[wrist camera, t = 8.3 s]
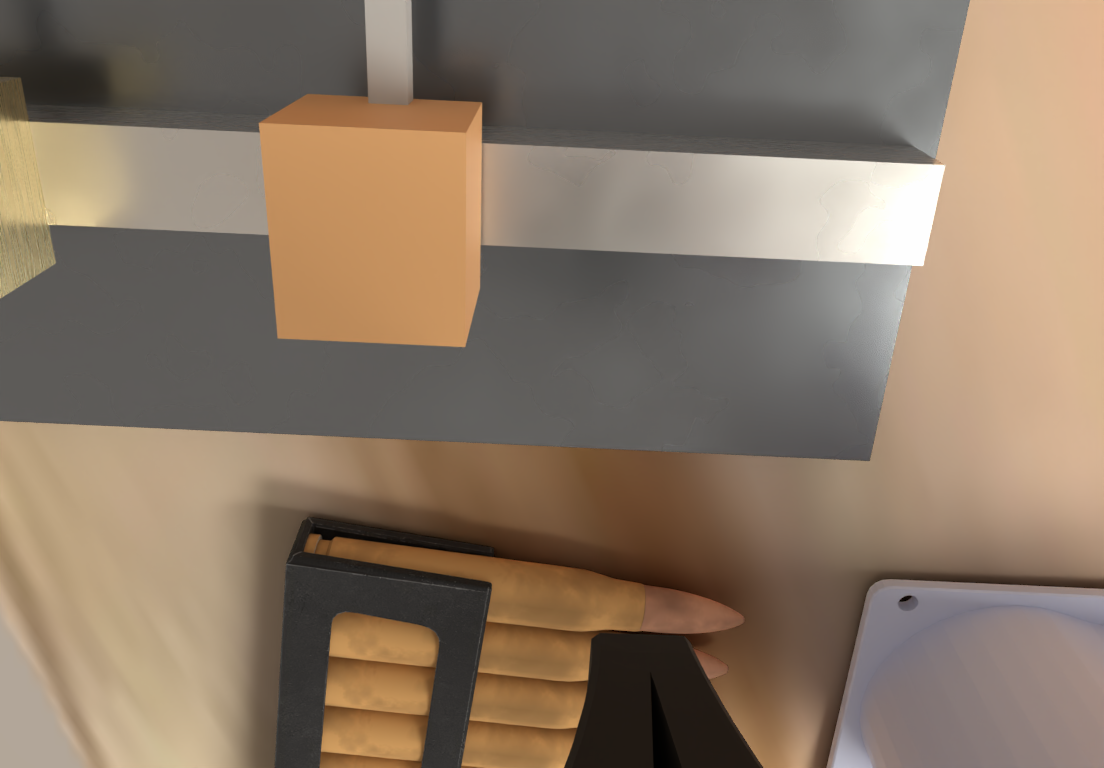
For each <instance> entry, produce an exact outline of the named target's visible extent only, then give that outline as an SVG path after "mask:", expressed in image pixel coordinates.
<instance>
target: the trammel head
mask: <svg viewBox="0 0 1104 768" xmlns="http://www.w3.org/2000/svg"><path fill="white" fill-rule="evenodd" d="M365 26H366V52H367V78H368V97H362V96H341V95H320V94H307V95H305V96H303V97H301V98H300V99H298V100H296V101H295V102H293V103H291V104H290V105H288V106H286V107H285V108H283V109H281V110H280V111H278V112H276V113H275V114H273V115H271V116H270V117H268V118H266V119H265V120H263V121H261V122H260V123H259V131H260V142H261V154H262V165H263V176H264V188H265V199H266V210H267V222H268V233H269V245H270V256H271V267H272V279H273V290H274V301H275V313H276V324H277V336H278V338H279V339H300V340H322V341H343V342H365V343H386V344H408V345H429V346H451V347H465V346H466V342H467V338H468V334H469V330H470V326H471V322H472V318H473V314H474V310H475V306H476V302H477V298H478V294H479V290H480V248H481V163H482V102H467V101H446V100H425V99H413V62H412V9H411V0H365Z"/></svg>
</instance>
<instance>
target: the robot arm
mask: <svg viewBox="0 0 1104 768" xmlns="http://www.w3.org/2000/svg"><path fill="white" fill-rule="evenodd" d="M908 595H911V596H912V597H911V599H909V600H907V601H904V602H900V599H901V598H903V597H904V596H908ZM564 768H763V766H762V765H761V764H760V762H759V761H758V759H757V758H756V756H755V755H754V753H753V751H752V750H751V748H750V747H749V745H748V744H747V742H746V741H745V739H744V738H743V736H742V734H741V733H740V731H739V730H738V728H737V727H736V725H735V724H734V722H733V720H732V719H731V717H730V715H729V714H728V712H727V710H726V709H725V707H724V705H723V703H722V702H721V700H720V698H719V696H718V695H717V693H716V691H715V689H714V688H713V686H712V684H711V682H710V680H709V679H708V677H707V675H706V673H705V671H704V669H703V667H702V665H701V663H700V661H699V659H698V657H697V655H696V653H695V651H694V649H693V647H692V645H691V643H690V641H689V640H688V639H687V638H686V637H685V636H678V635H648V634H618V633H599V634H597V635H596V636H595V637H593V638H592V639H591V648H590V661H589V673H588V686H587V693H586V697H585V702H584V706H583V709H582V713H581V716H580V720H579V723H578V727H577V730H576V734H575V737H574V741H573V744H572V747H571V750H570V753H569V756H568V758H567V761H566V764H565V766H564ZM826 768H1104V589H1095V588H1073V587H1051V586H1029V585H1007V584H985V583H963V582H941V581H919V580H897V579H886V580H881V581H878V582H876V583H874V584H873V585H872V586H871V587H870V588H869V590H868V592H867V595H866V600H865V604H864V608H863V613H862V617H861V621H860V626H859V630H858V634H857V638H856V643H855V647H854V651H853V656H852V660H851V664H850V669H849V673H848V677H847V681H846V686H845V690H844V694H843V699H842V703H841V707H840V712H839V716H838V720H837V724H836V729H835V733H834V737H833V742H832V746H831V750H830V755H829V759H828V763H827V767H826Z"/></svg>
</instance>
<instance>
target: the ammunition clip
mask: <svg viewBox="0 0 1104 768" xmlns="http://www.w3.org/2000/svg"><path fill="white" fill-rule="evenodd" d="M743 623H744V617H743V615H741V614H740V613H738V612H737V611H735V610H733V609H732V608H730V607H728V606H726V605H723V604H721V603H718V602H716V601H713V600H711V599H708V598H705V597H702V596H698V595H695V594H691V593H687V592H683V591H679V590H674V589H669V588H663V587H656V586H648V585H643V584H642V583H637V582H631V581H625V580H619V579H614V578H611V577H608V576H605V575H602V574H599V573H596V572H593V571H589V570H585V569H579V568H572V567H564V566H556V565H549V564H541V563H533V562H526V561H518V560H511V559H503V558H495V557H494V549H493V548H492V547H488V546H482V545H476V544H469V543H463V542H457V541H451V540H445V539H439V538H433V537H427V536H421V535H415V534H409V533H403V532H397V531H390V530H384V529H378V528H372V527H366V526H360V525H354V524H348V523H342V522H336V521H330V520H324V519H317V518H311V517H308V518H307V519H306V520H304V521H303V522H302V524H301V527H300V529H299V532H298V535H297V537H296V540H295V542H294V545H293V547H292V550H291V553H290V555H289V558H288V560H287V563H286V574H285V592H284V610H283V628H282V646H281V664H280V682H279V700H278V718H277V735H276V753H275V768H564V766H565V764H566V761H567V758H568V756H569V753H570V750H571V747H572V744H573V741H574V737H575V734H576V730H577V727H578V723H579V720H580V716H581V713H582V709H583V706H584V702H585V697H586V693H587V686H588V673H589V661H590V648H591V639H592V638H593V637H595V636H596V635H597V634H599V633H618V634H626V633H620V632H614V631H608V630H623V631H648V632H658V633H675V634H693V633H707V632H714V631H721V630H726V629H730V628H733V627H736V626H739V625H741V624H743ZM694 651H695V653H696V655H697V657H698V659H699V661H700V663H701V665H702V667H703V669H704V671H705V673H706V675H707V677H708V679H712V678H716V677H718V676H721V675H724V674H726V673H727V672H728V669H729V668H728V666H727V665H726V664H725V663H723V662H722V661H720V660H718V659H717V658H715V657H713V656H711V655H709V654H706V653H704V652H701V651H699V650H696V649H694Z"/></svg>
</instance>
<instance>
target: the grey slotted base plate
mask: <svg viewBox="0 0 1104 768" xmlns="http://www.w3.org/2000/svg"><path fill="white" fill-rule="evenodd" d="M969 2H970V0H411V9H412V62H413V99H425V100H446V101H467V102H482V163H481V248H480V290H479V294H478V298H477V302H476V306H475V310H474V314H473V318H472V322H471V326H470V330H469V334H468V338H467V342H466V346H465V347H451V346H429V345H408V344H386V343H365V342H343V341H322V340H300V339H279V338H278V336H277V324H276V313H275V301H274V290H273V279H272V267H271V256H270V245H269V233H268V222H267V210H266V199H265V188H264V176H263V165H262V154H261V142H260V131H259V123H260V122H261V121H263V120H265V119H266V118H268V117H270V116H271V115H273V114H275V113H276V112H278V111H280V110H281V109H283V108H285V107H286V106H288V105H290V104H291V103H293V102H295V101H296V100H298V99H300V98H301V97H303V96H305V95H307V94H320V95H341V96H362V97H368V78H367V52H366V26H365V0H0V421H14V422H36V423H57V424H79V425H101V426H123V427H144V428H166V429H188V430H210V431H231V432H253V433H275V434H296V435H318V436H340V437H362V438H383V439H405V440H427V441H449V442H470V443H492V444H514V445H535V446H557V447H579V448H601V449H622V450H644V451H666V452H688V453H709V454H731V455H753V456H774V457H796V458H818V459H840V460H861V461H870V457H871V452H872V447H873V443H874V438H875V434H876V429H877V425H878V420H879V415H880V411H881V406H882V402H883V397H884V392H885V388H886V383H887V379H888V374H889V369H890V365H891V360H892V356H893V351H894V346H895V342H896V337H897V333H898V328H899V323H900V319H901V314H902V310H903V305H904V300H905V296H906V291H907V287H908V282H909V278H910V273H911V268H912V265H917V266H923V263H924V258H925V254H926V249H927V245H928V241H929V236H930V232H931V227H932V223H933V218H934V214H935V209H936V205H937V200H938V196H939V191H940V187H941V182H942V178H943V173H944V169H945V165H944V164H942V163H941V162H939V161H937V160H936V159H935V158H936V154H937V149H938V144H939V140H940V135H941V131H942V126H943V121H944V117H945V112H946V108H947V103H948V98H949V94H950V89H951V85H952V80H953V75H954V71H955V66H956V62H957V57H958V52H959V48H960V43H961V39H962V34H963V30H964V25H965V20H966V16H967V11H968V7H969Z"/></svg>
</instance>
